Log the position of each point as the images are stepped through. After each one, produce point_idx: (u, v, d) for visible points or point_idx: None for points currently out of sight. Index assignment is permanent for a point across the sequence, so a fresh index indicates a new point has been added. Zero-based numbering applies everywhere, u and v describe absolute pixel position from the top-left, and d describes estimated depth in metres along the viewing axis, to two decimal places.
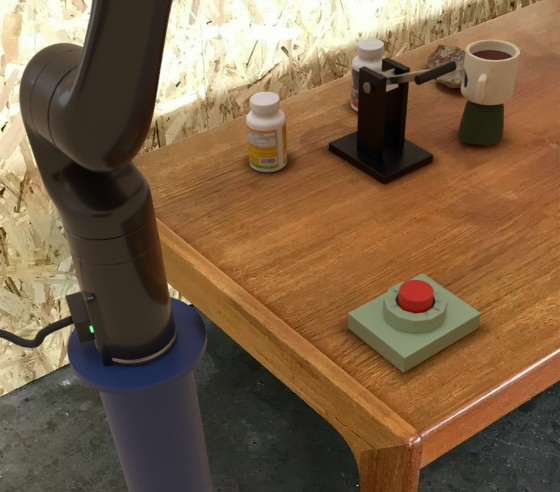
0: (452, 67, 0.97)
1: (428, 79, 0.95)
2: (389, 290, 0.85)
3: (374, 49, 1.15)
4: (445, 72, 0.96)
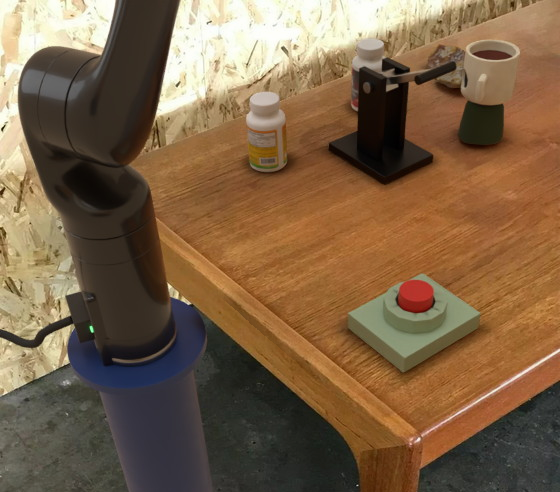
0: (452, 67, 0.97)
1: (428, 79, 0.95)
2: (389, 290, 0.85)
3: (374, 49, 1.15)
4: (445, 72, 0.96)
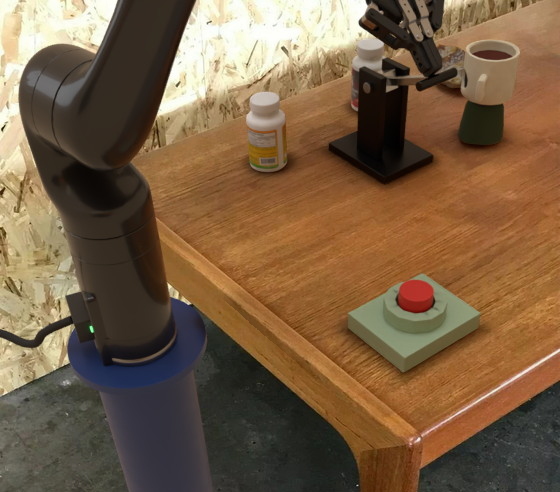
0: (453, 74, 0.97)
1: (429, 86, 0.96)
2: (389, 290, 0.85)
3: (374, 49, 1.15)
4: (446, 79, 0.97)
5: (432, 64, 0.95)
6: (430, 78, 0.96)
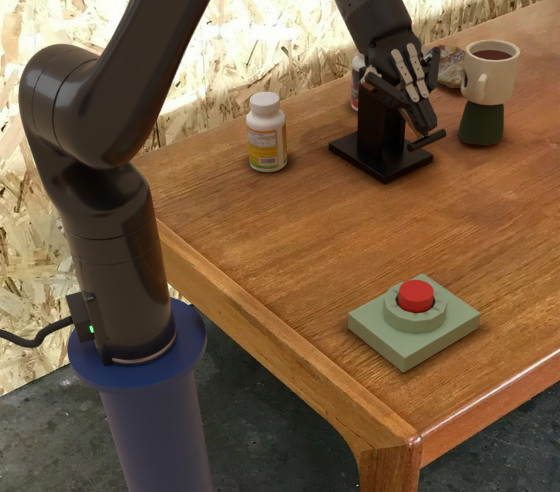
0: (441, 138, 1.04)
1: None
2: (389, 290, 0.85)
3: None
4: None
5: (427, 123, 1.00)
6: (422, 143, 1.02)
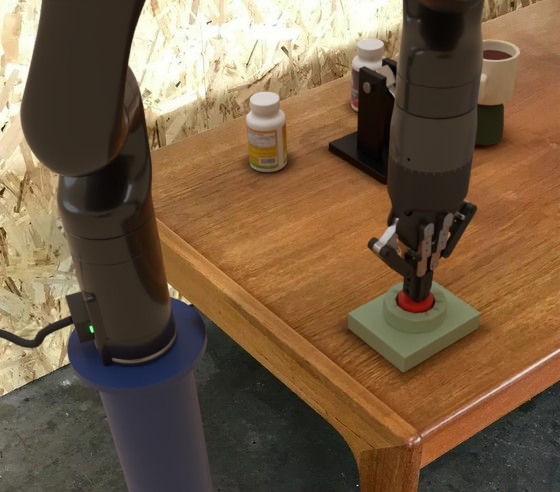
0: None
1: None
2: (389, 290, 0.85)
3: (374, 49, 1.15)
4: None
5: (419, 298, 0.82)
6: None
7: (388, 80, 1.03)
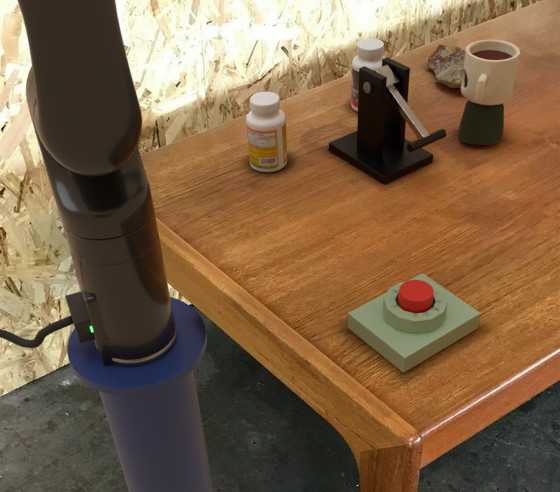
0: (441, 138, 1.04)
1: None
2: (389, 290, 0.85)
3: (374, 49, 1.15)
4: None
5: None
6: (422, 143, 1.02)
7: (388, 80, 1.03)
